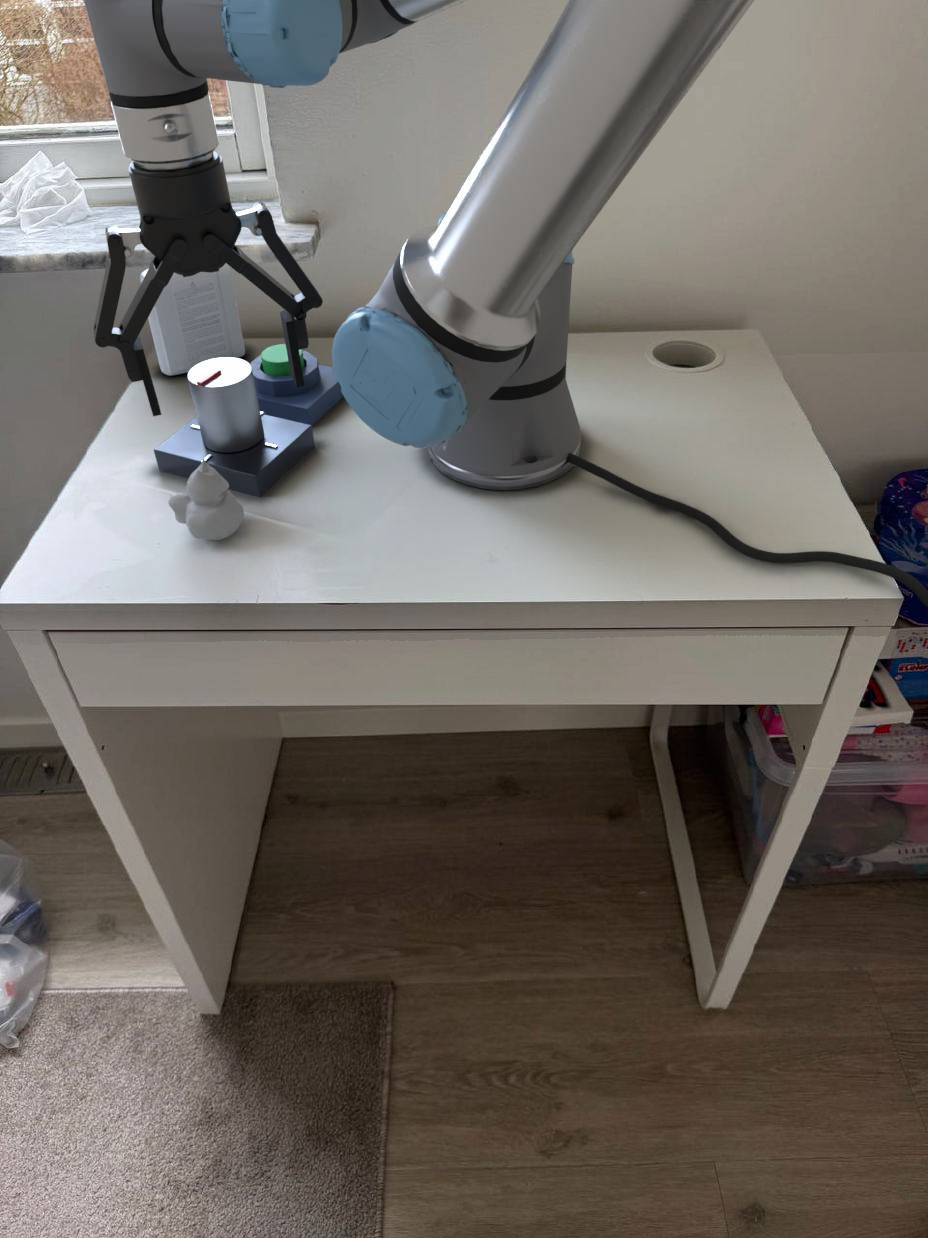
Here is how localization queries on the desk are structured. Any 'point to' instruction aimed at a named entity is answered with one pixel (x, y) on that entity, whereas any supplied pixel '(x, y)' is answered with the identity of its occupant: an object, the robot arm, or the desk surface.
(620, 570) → the desk surface
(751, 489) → the desk surface
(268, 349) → the button
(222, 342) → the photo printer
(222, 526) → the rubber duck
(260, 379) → the block
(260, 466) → the dial panel
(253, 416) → the dial
